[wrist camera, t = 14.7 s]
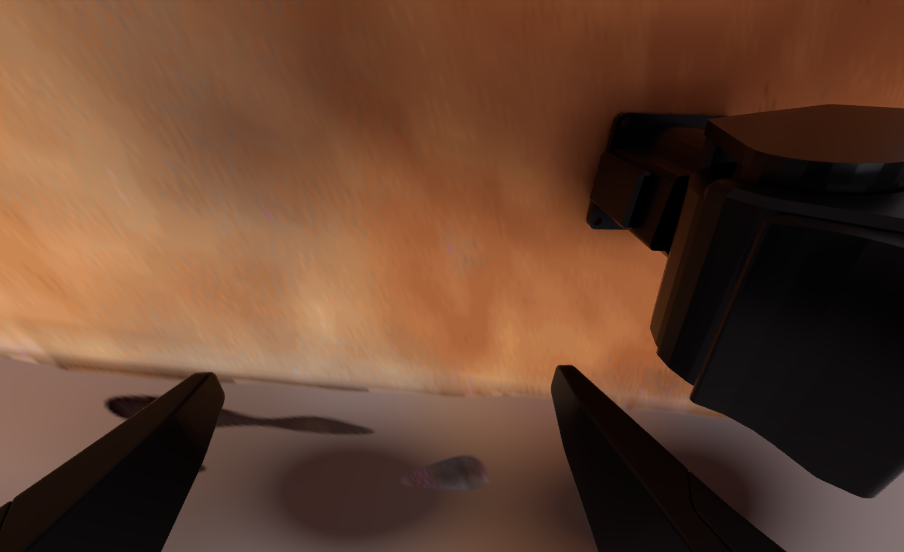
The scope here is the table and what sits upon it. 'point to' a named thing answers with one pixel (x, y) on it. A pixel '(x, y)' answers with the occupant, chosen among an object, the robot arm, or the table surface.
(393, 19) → the table surface
